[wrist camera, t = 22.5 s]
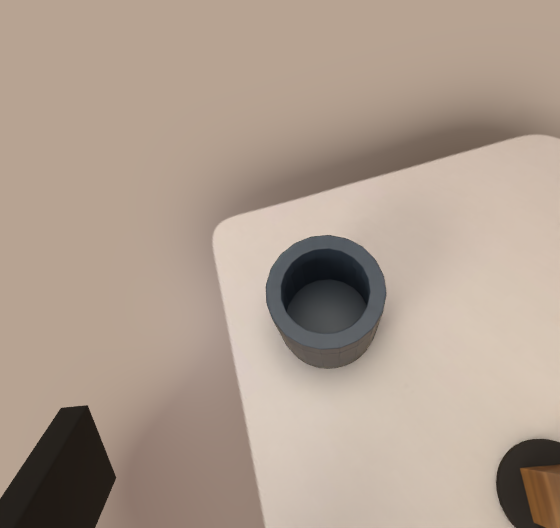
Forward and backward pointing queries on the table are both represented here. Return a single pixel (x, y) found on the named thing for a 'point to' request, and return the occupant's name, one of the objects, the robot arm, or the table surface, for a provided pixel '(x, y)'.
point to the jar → (326, 299)
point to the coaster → (511, 478)
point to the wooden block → (543, 494)
